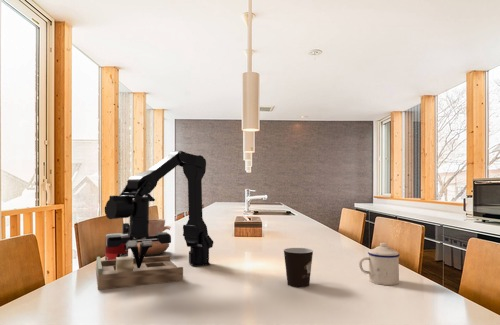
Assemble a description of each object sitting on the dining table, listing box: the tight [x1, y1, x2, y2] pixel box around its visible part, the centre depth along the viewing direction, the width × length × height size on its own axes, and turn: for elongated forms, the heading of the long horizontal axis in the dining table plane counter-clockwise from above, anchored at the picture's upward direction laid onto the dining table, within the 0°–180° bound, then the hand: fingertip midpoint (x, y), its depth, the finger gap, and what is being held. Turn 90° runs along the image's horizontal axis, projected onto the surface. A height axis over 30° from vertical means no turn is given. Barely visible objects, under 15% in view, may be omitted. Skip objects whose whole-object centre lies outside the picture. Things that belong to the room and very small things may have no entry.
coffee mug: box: [283, 247, 314, 288], centre depth 110 cm, size 12×9×10 cm
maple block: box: [116, 255, 134, 273], centre depth 111 cm, size 4×4×4 cm
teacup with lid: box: [358, 242, 400, 286], centre depth 113 cm, size 12×9×12 cm
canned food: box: [104, 232, 129, 260], centre depth 133 cm, size 8×8×11 cm
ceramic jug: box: [136, 218, 172, 256], centre depth 155 cm, size 18×14×14 cm
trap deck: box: [95, 255, 184, 291], centre depth 117 cm, size 24×20×6 cm
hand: (138, 267), depth 113 cm, fingers closed
